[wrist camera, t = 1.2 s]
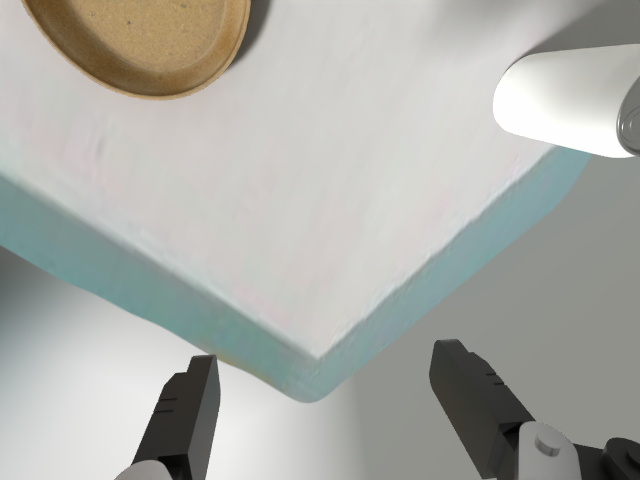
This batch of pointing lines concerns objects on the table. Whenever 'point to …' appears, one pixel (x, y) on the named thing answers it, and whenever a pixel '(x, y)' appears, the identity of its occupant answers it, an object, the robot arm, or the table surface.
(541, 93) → the can
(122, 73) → the plant saucer
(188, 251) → the table surface
